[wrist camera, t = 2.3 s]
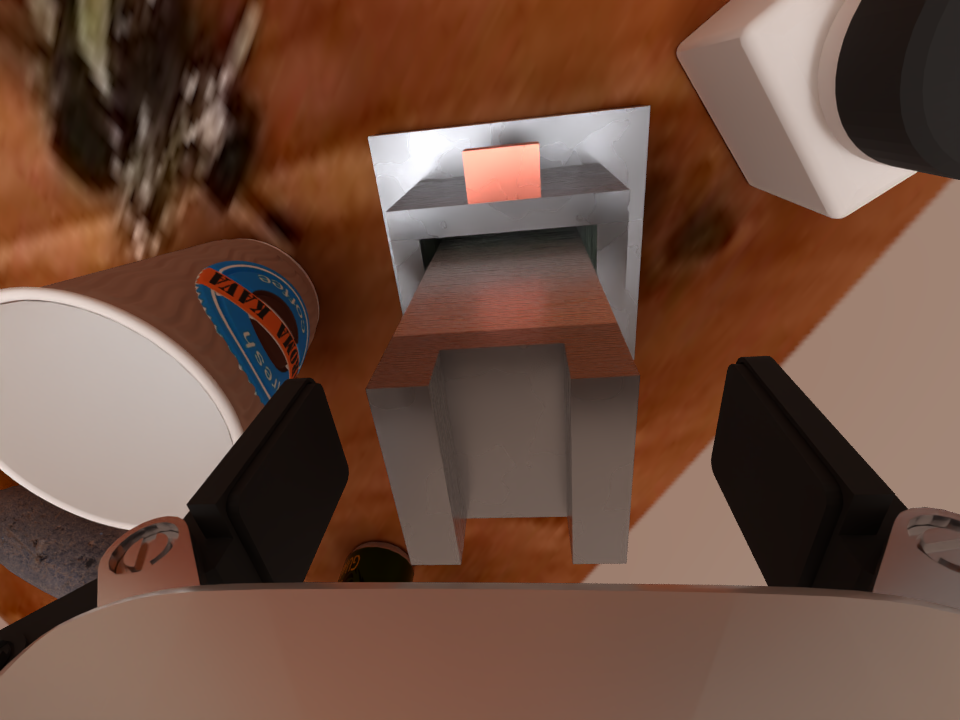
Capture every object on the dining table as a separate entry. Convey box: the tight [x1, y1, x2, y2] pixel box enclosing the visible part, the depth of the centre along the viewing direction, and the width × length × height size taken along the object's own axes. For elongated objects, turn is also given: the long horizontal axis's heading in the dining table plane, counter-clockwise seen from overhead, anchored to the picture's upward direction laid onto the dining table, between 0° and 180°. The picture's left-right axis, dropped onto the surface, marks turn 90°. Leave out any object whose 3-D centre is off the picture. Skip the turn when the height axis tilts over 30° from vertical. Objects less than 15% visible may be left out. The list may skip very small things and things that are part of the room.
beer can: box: [338, 542, 414, 582], centre depth 32 cm, size 5×5×12 cm
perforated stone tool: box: [0, 485, 129, 599], centre depth 34 cm, size 15×5×7 cm, turn 58°
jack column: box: [366, 226, 640, 565], centre depth 16 cm, size 5×5×15 cm
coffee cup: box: [0, 239, 319, 530], centre depth 22 cm, size 10×10×12 cm
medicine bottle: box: [676, 0, 960, 219], centre depth 14 cm, size 7×7×12 cm
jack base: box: [368, 105, 650, 360], centre depth 21 cm, size 12×12×8 cm
